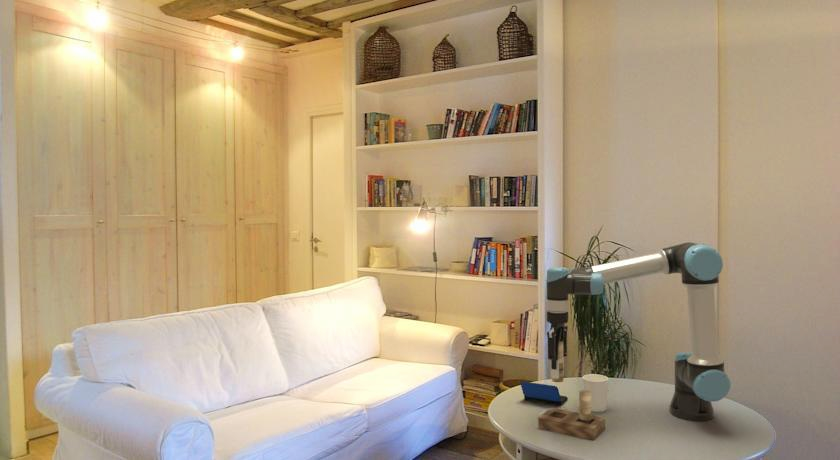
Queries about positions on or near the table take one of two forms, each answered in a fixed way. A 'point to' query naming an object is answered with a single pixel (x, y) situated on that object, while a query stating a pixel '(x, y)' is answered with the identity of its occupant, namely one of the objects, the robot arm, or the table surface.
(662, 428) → the table surface
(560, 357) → the beech peg
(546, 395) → the handheld game console
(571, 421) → the wooden peg block
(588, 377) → the candle holder
